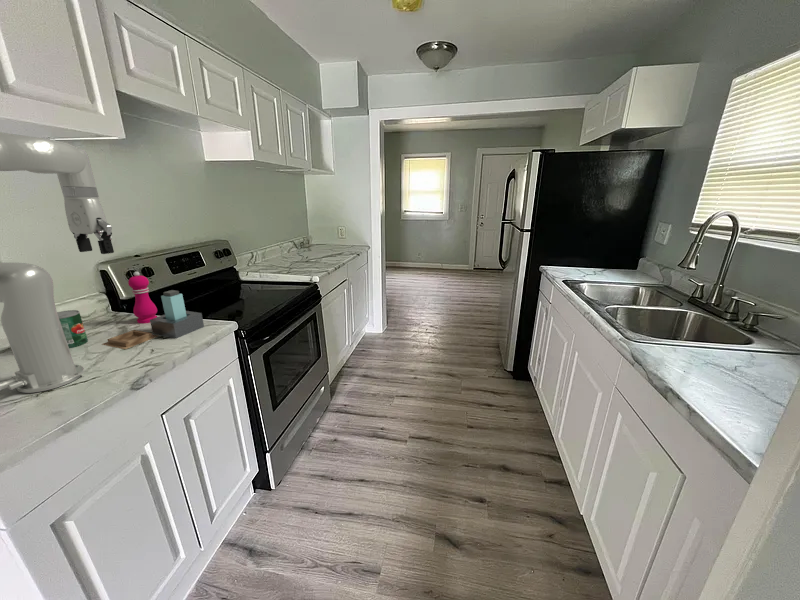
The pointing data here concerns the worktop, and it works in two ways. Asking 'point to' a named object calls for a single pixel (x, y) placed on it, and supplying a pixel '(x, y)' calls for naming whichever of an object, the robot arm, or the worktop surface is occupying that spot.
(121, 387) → the worktop surface
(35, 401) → the worktop surface
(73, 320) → the canned tomato
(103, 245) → the robot arm
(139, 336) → the square wooden tray
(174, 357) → the worktop surface
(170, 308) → the plug
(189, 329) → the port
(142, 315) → the pepper mill
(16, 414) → the worktop surface
